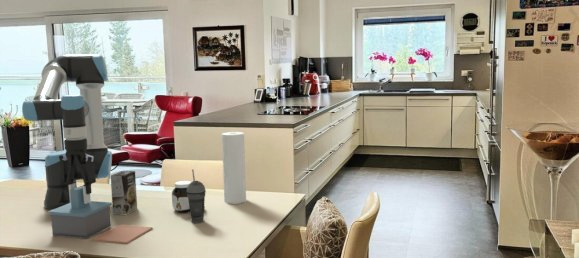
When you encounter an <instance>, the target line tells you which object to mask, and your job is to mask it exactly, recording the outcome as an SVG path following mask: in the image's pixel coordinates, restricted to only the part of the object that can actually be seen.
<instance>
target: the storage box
mask: <svg viewBox="0 0 579 258" xmlns="http://www.w3.org/2000/svg"><path fill="white" fill-rule="evenodd" d="M110 207H111V206H109V207H107V208H104V209H102V210H100V211H98V212H95V213H93V214H91V215H89V216H86V217H76V216H63V215H50V217H51V218H50V219H51V230H52V236H53V237H60V238H61V237H62V238H70V239H71V238H72V239H80V240H81V239H83V240H87V239H89V238H91V237H93V236H96V235H97V234H100V233H101V232H103V231H104V230H107V229H109V228H111V227H112V222H111V208H110ZM110 226H111V227H110Z"/></svg>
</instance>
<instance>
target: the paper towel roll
mask: <svg viewBox="0 0 579 258" xmlns="http://www.w3.org/2000/svg"><path fill="white" fill-rule="evenodd" d="M221 146H222V147H221V149H222V171H223V172H222V175H223V199H224V203H226V204H228V205H229V204H233V205H234V204H235V205H236V204H237V205H238V204H242V203H246V201H247V186H246V184H247V183H246V182H247V181H246V161H245V160H246V158H245V157H246V154H245V132H243V131H228V132H222V133H221Z"/></svg>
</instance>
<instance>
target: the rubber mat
mask: <svg viewBox="0 0 579 258" xmlns="http://www.w3.org/2000/svg"><path fill="white" fill-rule="evenodd" d="M151 229H152V230H153V227H152V226H141V225H130V224H129V225H128V224H118V225H116V226H114V227H112V228H110V229H108V230H106V231H104V232H102V233H99V234H98V235H95V237H92V238H91V241H94V242H103V243H111V244H124V245H127V244H130V243H131V242H133V241H134V240H137V239H138V238H139V237H141V236H143V235H145V234H146V233H148V232H150V231H151Z"/></svg>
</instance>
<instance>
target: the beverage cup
mask: <svg viewBox="0 0 579 258" xmlns="http://www.w3.org/2000/svg"><path fill="white" fill-rule="evenodd" d="M191 171H192V178H193V179H192V180H193V181H191V183H190V184H189V185H188V187H187V192H186V193H187V197H188V201H189V208H190V212H189V215H190V219H191V221H190V222H191V223H193V224H201V223H203V222H204V218H205V208H204V206H205V197H206V193H207V192H206V187H205V185H204V183H203V182H201V181H199V180H196V177H195V171H194V169H191Z"/></svg>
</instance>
